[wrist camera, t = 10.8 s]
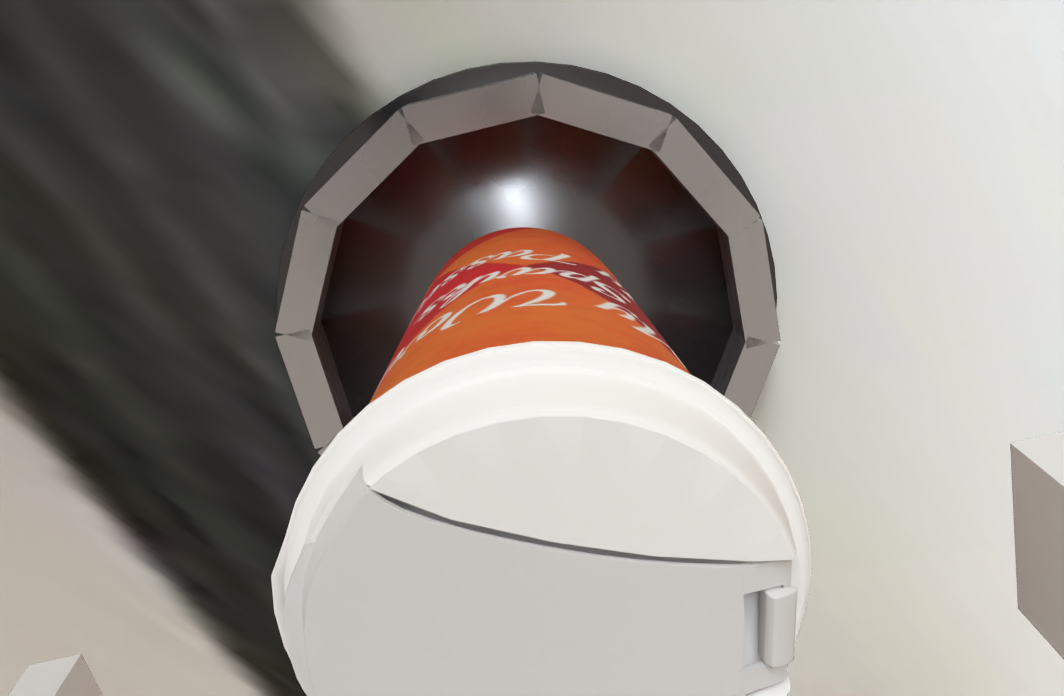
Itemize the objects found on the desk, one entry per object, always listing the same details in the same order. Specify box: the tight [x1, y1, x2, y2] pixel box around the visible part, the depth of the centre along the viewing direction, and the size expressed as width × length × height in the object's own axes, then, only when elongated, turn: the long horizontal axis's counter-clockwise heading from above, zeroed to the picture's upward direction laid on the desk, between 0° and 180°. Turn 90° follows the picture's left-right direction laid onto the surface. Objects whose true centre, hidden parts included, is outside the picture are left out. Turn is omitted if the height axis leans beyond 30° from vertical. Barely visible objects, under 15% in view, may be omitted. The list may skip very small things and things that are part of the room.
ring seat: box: [275, 61, 780, 455], centre depth 26 cm, size 15×15×2 cm
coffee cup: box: [271, 227, 812, 696], centre depth 20 cm, size 8×8×15 cm
